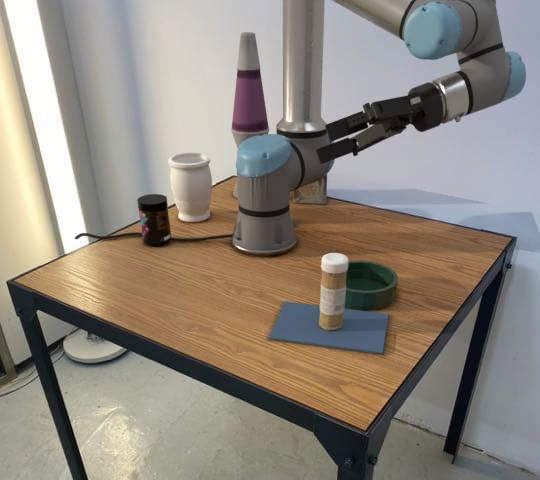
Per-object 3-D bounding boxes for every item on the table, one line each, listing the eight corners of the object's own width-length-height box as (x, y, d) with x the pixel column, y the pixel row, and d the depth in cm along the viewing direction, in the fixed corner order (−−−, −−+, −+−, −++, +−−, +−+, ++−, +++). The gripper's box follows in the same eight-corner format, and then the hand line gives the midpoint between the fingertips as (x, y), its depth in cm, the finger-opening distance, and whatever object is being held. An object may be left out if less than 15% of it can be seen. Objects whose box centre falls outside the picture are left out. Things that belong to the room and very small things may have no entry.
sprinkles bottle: (336, 316, 106) (341, 250, 98) (347, 329, 102) (353, 261, 95) (314, 321, 105) (317, 254, 97) (324, 333, 101) (328, 265, 93)
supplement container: (153, 234, 139) (147, 192, 133) (177, 238, 137) (172, 196, 130) (137, 245, 134) (131, 202, 127) (162, 249, 131) (157, 206, 125)
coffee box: (327, 196, 159) (330, 137, 150) (325, 205, 154) (328, 144, 145) (294, 195, 161) (296, 136, 151) (291, 203, 155) (292, 142, 146)
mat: (268, 339, 101) (268, 337, 100) (285, 303, 111) (285, 301, 111) (382, 354, 97) (382, 352, 96) (388, 316, 107) (388, 313, 107)
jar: (211, 224, 143) (207, 164, 135) (171, 224, 144) (164, 164, 135) (216, 209, 152) (212, 151, 143) (177, 209, 152) (171, 151, 143)
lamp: (275, 198, 159) (275, 34, 135) (237, 202, 156) (231, 36, 133) (264, 186, 167) (263, 29, 144) (229, 189, 165) (221, 31, 141)
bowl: (322, 306, 110) (323, 288, 108) (332, 274, 121) (334, 257, 118) (392, 314, 107) (395, 296, 105) (397, 281, 118) (400, 264, 116)
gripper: (469, 96, 88) (341, 144, 88) (421, 145, 112) (321, 183, 112) (453, 49, 87) (324, 97, 87) (409, 108, 112) (308, 146, 112)
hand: (322, 146), depth 100 cm, fingers open, 13 cm apart
